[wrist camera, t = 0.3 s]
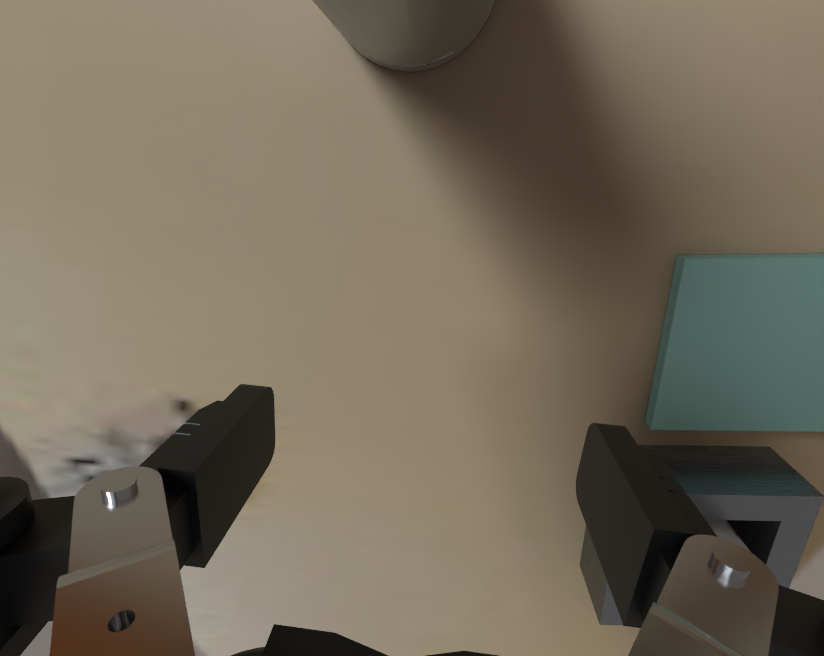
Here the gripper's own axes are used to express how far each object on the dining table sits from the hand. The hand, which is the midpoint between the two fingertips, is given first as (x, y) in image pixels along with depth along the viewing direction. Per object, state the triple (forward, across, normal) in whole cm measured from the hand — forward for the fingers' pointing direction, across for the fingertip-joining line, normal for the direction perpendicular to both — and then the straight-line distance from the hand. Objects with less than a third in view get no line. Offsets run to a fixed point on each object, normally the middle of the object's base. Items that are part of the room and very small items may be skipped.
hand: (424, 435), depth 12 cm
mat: (+20, -21, +3) cm, 29 cm away
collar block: (+20, -19, +17) cm, 33 cm away
